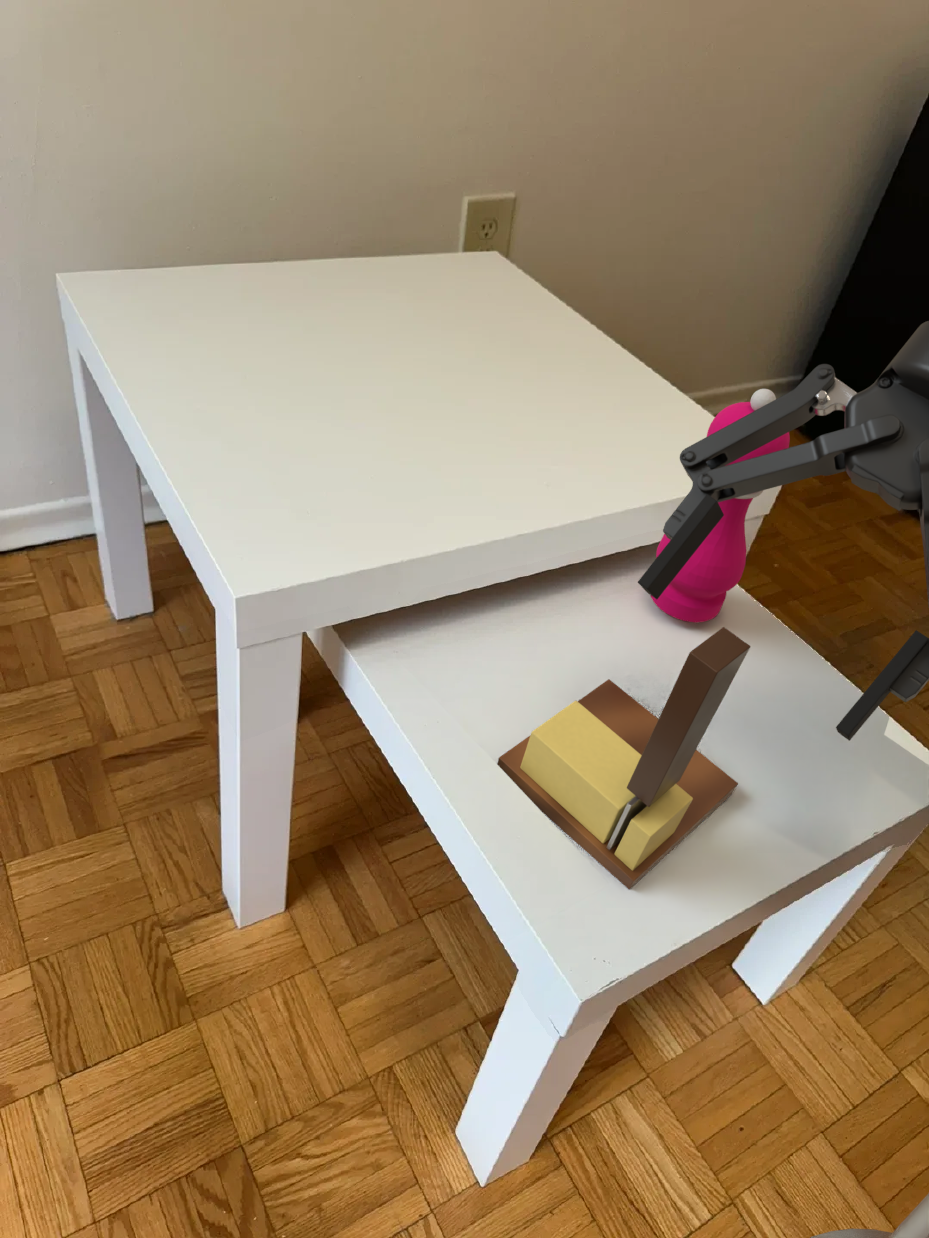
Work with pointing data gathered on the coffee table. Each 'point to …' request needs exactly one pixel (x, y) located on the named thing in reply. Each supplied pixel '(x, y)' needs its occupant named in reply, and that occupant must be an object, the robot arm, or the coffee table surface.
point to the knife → (683, 722)
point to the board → (636, 729)
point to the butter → (599, 781)
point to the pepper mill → (717, 538)
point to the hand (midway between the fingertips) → (739, 659)
